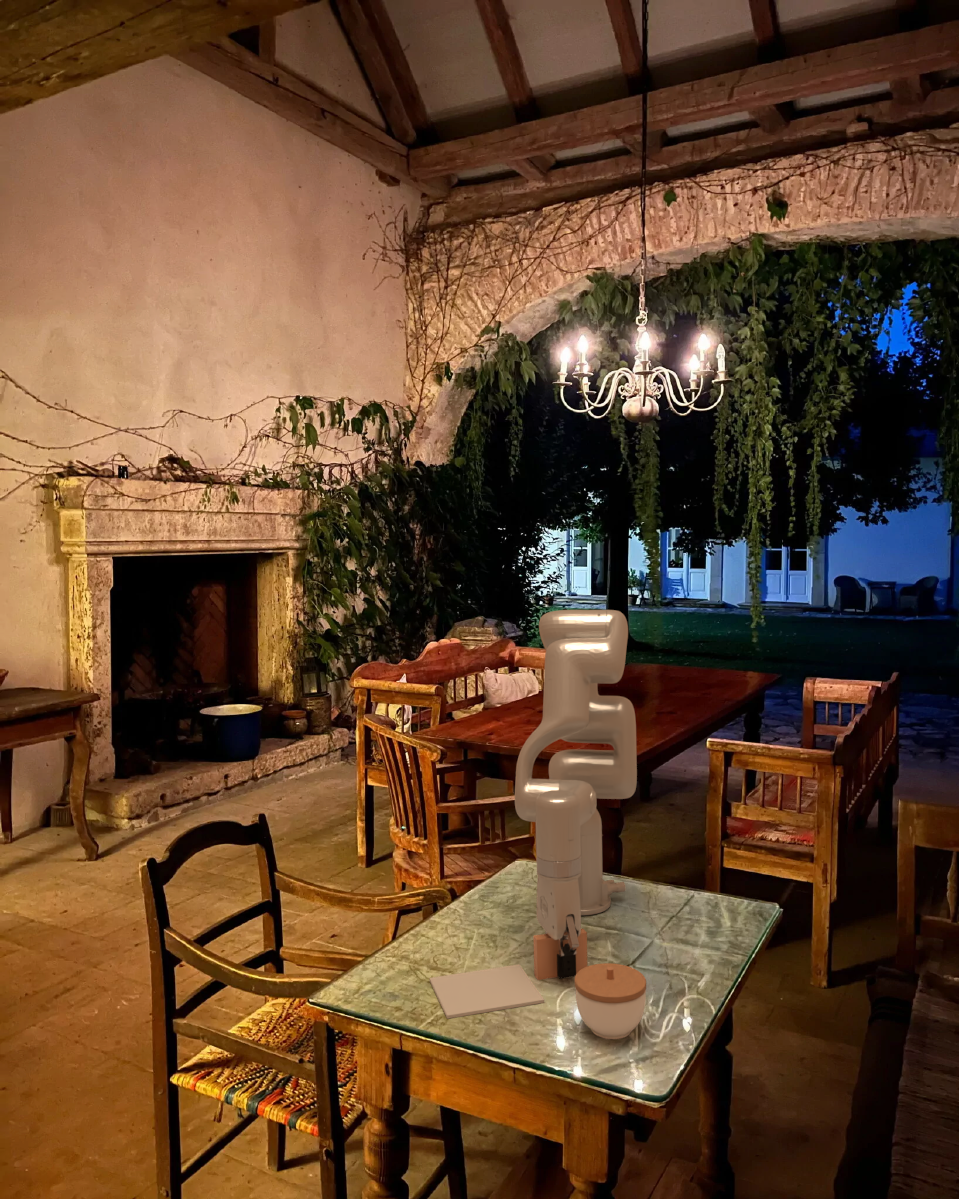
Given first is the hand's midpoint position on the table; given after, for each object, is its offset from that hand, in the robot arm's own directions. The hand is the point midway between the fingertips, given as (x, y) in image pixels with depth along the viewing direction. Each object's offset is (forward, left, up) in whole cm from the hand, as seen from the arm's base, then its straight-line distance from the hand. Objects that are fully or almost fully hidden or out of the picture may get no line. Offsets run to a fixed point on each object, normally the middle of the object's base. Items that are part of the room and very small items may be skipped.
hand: (560, 968), depth 157 cm
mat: (+14, +2, -1) cm, 14 cm away
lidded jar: (-1, +19, -1) cm, 19 cm away
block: (0, 0, -1) cm, 1 cm away
